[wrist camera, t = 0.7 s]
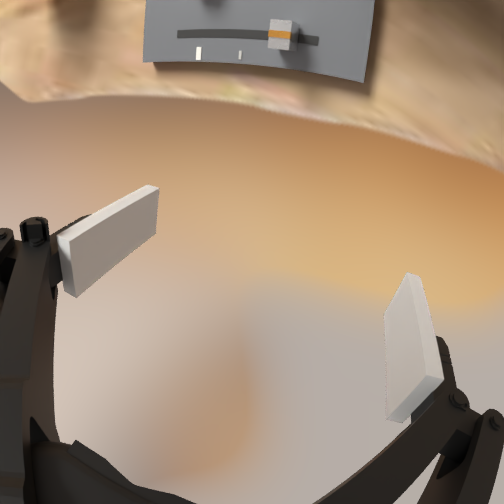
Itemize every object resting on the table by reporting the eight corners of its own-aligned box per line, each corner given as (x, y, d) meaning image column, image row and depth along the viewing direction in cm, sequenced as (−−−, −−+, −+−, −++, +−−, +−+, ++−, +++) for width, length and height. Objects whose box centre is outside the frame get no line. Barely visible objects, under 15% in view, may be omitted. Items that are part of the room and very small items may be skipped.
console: (377, -33, 20) (377, -39, 18) (363, 82, 28) (363, 83, 27) (159, -34, 26) (149, -36, 24) (152, 61, 34) (142, 62, 33)
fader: (299, 24, 25) (291, 20, 22) (296, 51, 27) (288, 50, 24) (279, 22, 26) (269, 18, 23) (276, 49, 27) (266, 47, 25)
